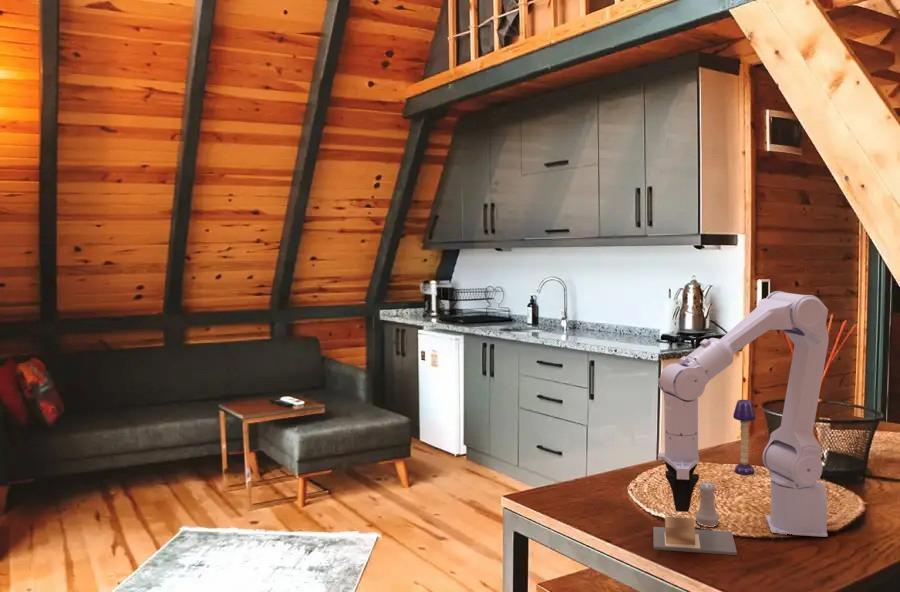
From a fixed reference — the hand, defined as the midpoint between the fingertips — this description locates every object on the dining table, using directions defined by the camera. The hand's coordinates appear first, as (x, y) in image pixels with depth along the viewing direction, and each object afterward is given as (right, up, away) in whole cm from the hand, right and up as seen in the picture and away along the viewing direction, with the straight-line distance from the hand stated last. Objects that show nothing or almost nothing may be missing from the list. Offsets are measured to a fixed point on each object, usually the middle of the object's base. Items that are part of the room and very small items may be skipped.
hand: (681, 505), depth 140 cm
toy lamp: (+25, -3, +37) cm, 45 cm away
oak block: (0, -6, +1) cm, 6 cm away
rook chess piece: (+8, -6, +9) cm, 13 cm away
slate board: (+2, -7, +1) cm, 7 cm away
